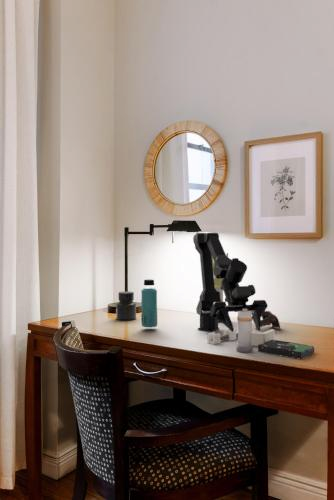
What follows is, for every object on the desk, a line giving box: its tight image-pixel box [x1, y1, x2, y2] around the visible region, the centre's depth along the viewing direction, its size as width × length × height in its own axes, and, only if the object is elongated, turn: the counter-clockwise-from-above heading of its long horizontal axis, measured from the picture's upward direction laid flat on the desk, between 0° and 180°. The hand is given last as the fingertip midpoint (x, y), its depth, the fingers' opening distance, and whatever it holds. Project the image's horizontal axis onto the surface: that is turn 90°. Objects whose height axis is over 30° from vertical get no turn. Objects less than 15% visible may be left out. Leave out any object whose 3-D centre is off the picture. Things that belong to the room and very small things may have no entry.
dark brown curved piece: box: [254, 310, 282, 331], centre depth 177 cm, size 12×10×8 cm
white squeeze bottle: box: [236, 308, 254, 354], centre depth 142 cm, size 5×5×14 cm
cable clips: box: [207, 328, 237, 345], centre depth 158 cm, size 4×21×3 cm, turn 125°
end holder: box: [252, 326, 275, 347], centre depth 153 cm, size 9×9×4 cm
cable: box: [212, 332, 238, 342], centre depth 158 cm, size 5×20×1 cm, turn 112°
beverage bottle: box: [140, 279, 158, 328], centre depth 175 cm, size 6×7×20 cm
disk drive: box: [257, 339, 315, 360], centre depth 140 cm, size 10×3×15 cm
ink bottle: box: [115, 291, 137, 321], centre depth 198 cm, size 10×9×12 cm
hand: (246, 330), depth 141 cm, fingers open, 9 cm apart
